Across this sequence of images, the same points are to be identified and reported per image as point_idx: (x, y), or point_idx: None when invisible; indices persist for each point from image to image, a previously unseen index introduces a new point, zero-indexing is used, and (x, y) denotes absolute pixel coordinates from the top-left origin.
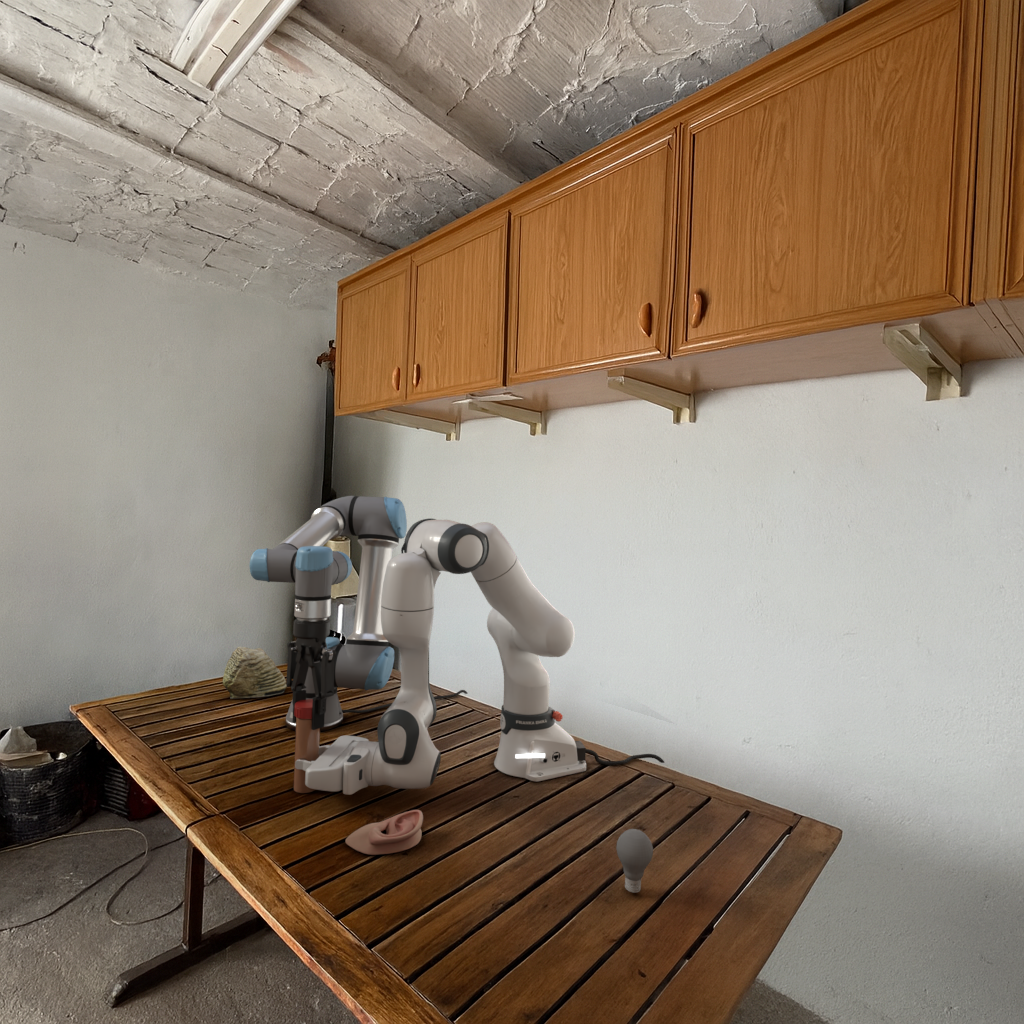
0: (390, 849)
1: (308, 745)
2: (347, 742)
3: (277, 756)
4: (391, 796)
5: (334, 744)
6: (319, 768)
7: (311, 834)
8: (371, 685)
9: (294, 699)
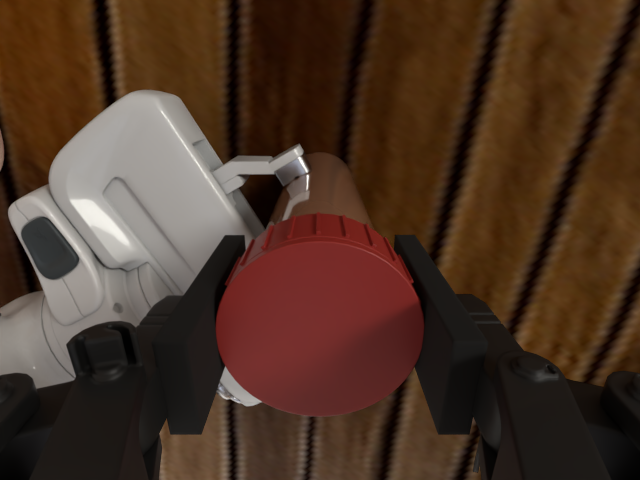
0: None
1: (275, 207)
2: None
3: (550, 258)
4: None
5: None
6: (102, 126)
7: (63, 15)
8: None
9: (447, 305)
